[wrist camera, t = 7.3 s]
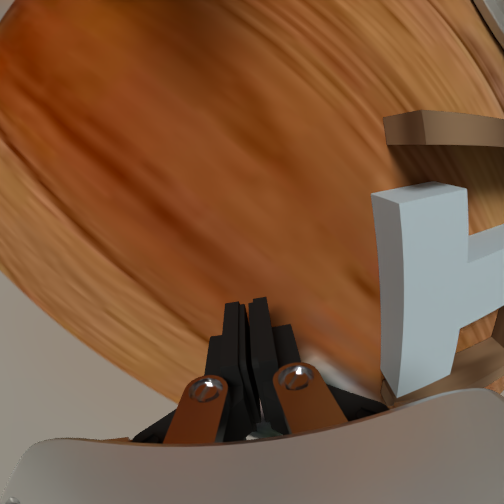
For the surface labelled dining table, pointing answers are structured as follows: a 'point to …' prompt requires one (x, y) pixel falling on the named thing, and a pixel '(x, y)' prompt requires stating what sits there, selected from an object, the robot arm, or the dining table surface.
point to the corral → (500, 344)
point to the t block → (431, 279)
